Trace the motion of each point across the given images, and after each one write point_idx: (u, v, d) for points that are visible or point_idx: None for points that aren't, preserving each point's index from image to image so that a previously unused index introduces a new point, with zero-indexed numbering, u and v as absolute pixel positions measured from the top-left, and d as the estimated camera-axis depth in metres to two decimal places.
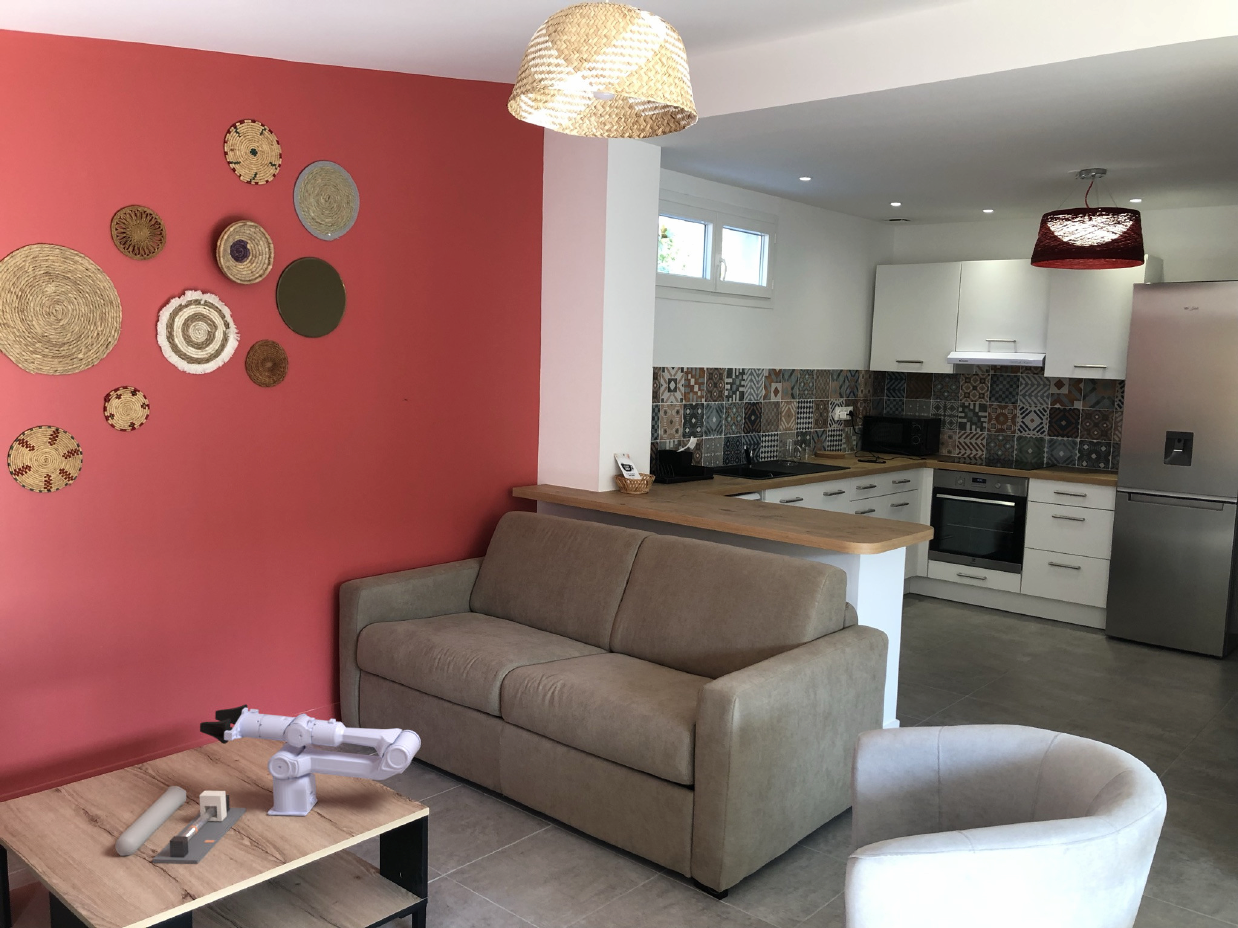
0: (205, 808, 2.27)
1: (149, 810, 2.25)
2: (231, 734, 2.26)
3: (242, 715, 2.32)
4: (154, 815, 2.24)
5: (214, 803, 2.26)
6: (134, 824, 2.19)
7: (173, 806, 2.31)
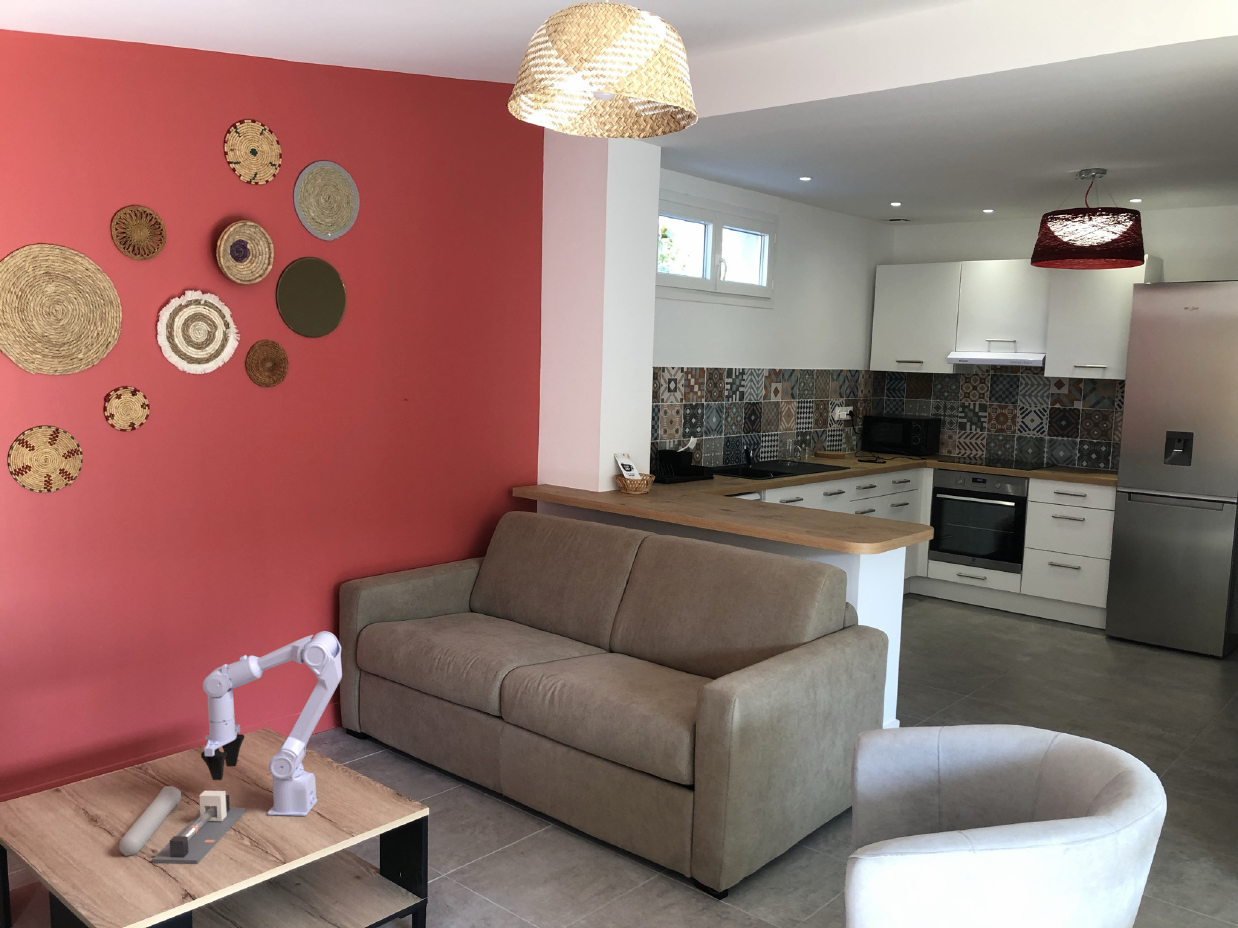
0: (205, 808, 2.27)
1: (148, 810, 2.25)
2: (206, 748, 2.25)
3: (208, 738, 2.31)
4: (154, 814, 2.24)
5: (214, 803, 2.26)
6: (136, 824, 2.19)
7: (170, 805, 2.31)
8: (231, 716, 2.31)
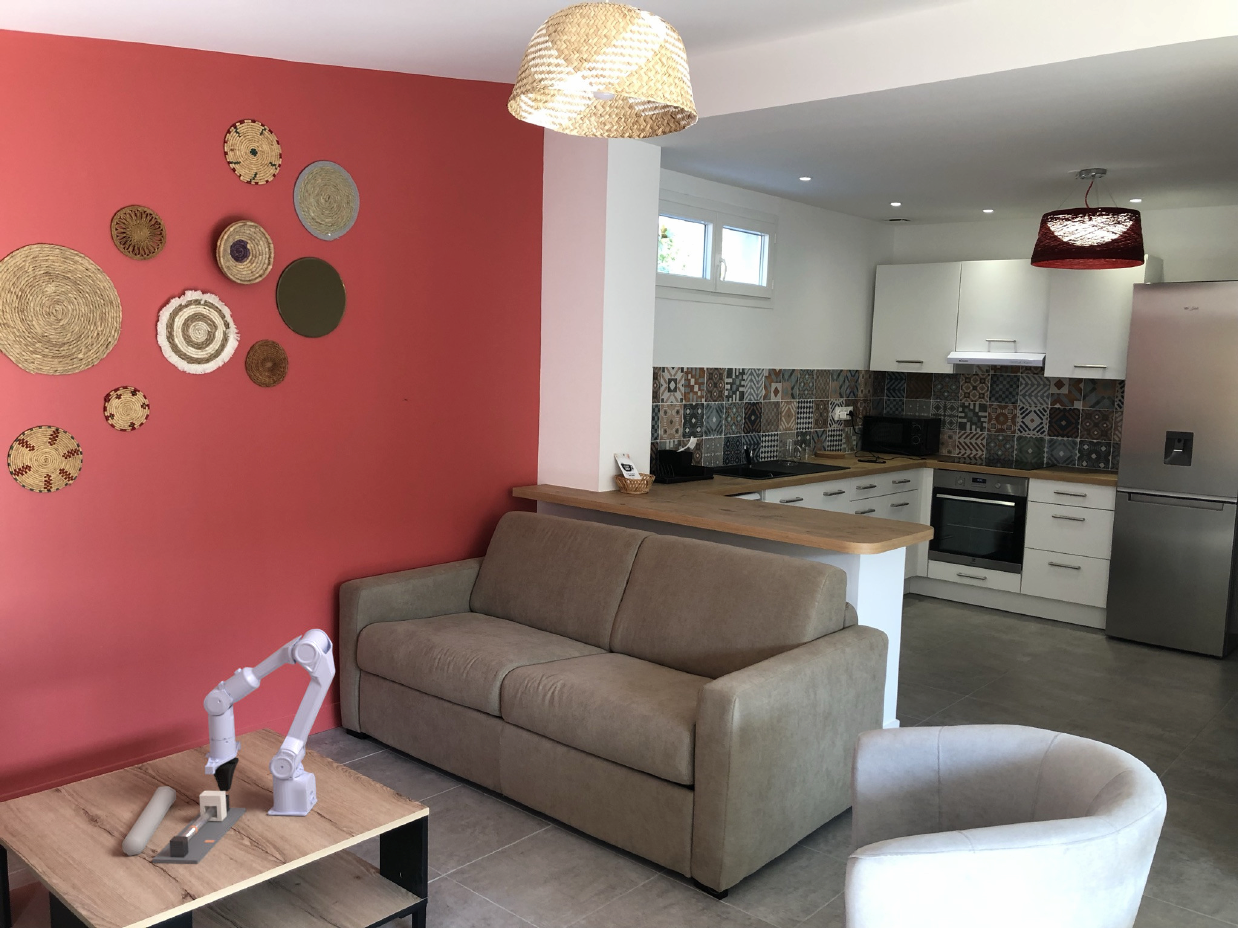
0: (205, 808, 2.27)
1: (147, 810, 2.25)
2: (206, 767, 2.26)
3: (209, 756, 2.32)
4: (153, 814, 2.24)
5: (214, 803, 2.26)
6: (137, 824, 2.19)
7: (167, 805, 2.31)
8: (232, 734, 2.31)
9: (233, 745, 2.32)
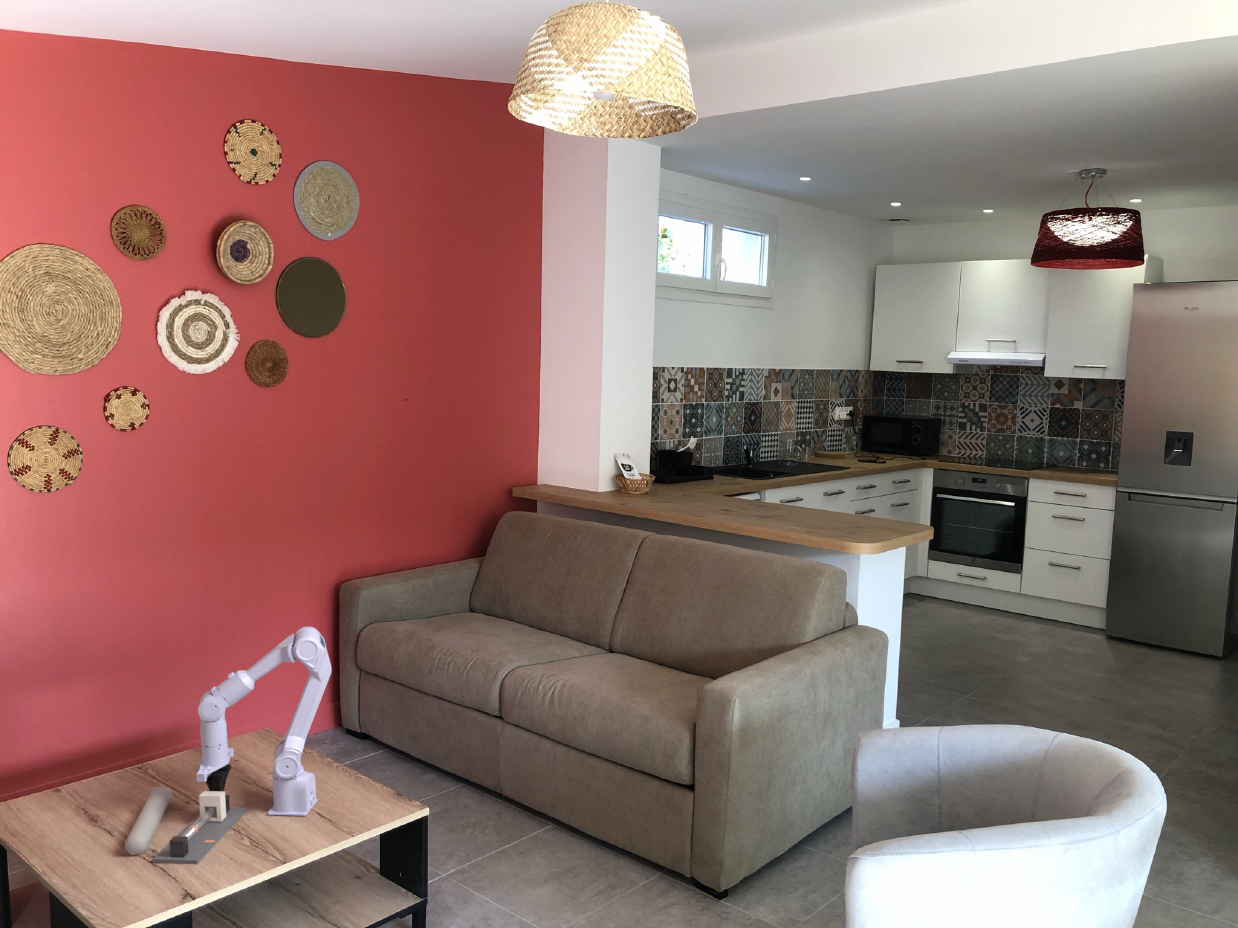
0: (205, 808, 2.27)
1: (146, 810, 2.25)
2: (198, 774, 2.22)
3: (201, 763, 2.28)
4: (153, 814, 2.24)
5: (214, 803, 2.26)
6: (138, 824, 2.19)
7: (164, 805, 2.31)
8: (226, 739, 2.28)
9: (225, 752, 2.28)
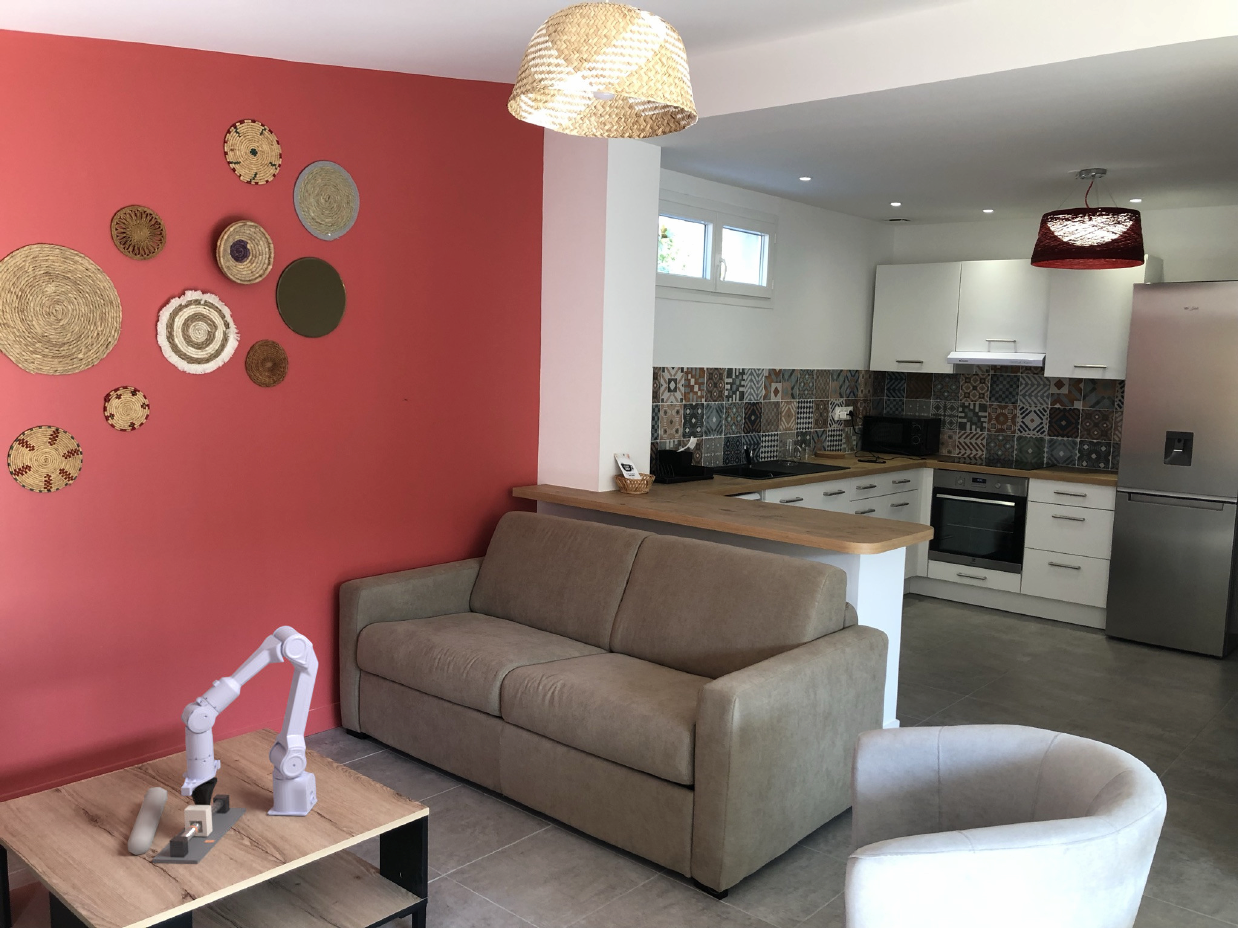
0: (190, 823, 2.20)
1: (145, 810, 2.25)
2: (183, 788, 2.15)
3: None
4: (153, 814, 2.24)
5: (199, 818, 2.19)
6: (139, 824, 2.19)
7: (162, 805, 2.31)
8: None
9: (211, 764, 2.21)
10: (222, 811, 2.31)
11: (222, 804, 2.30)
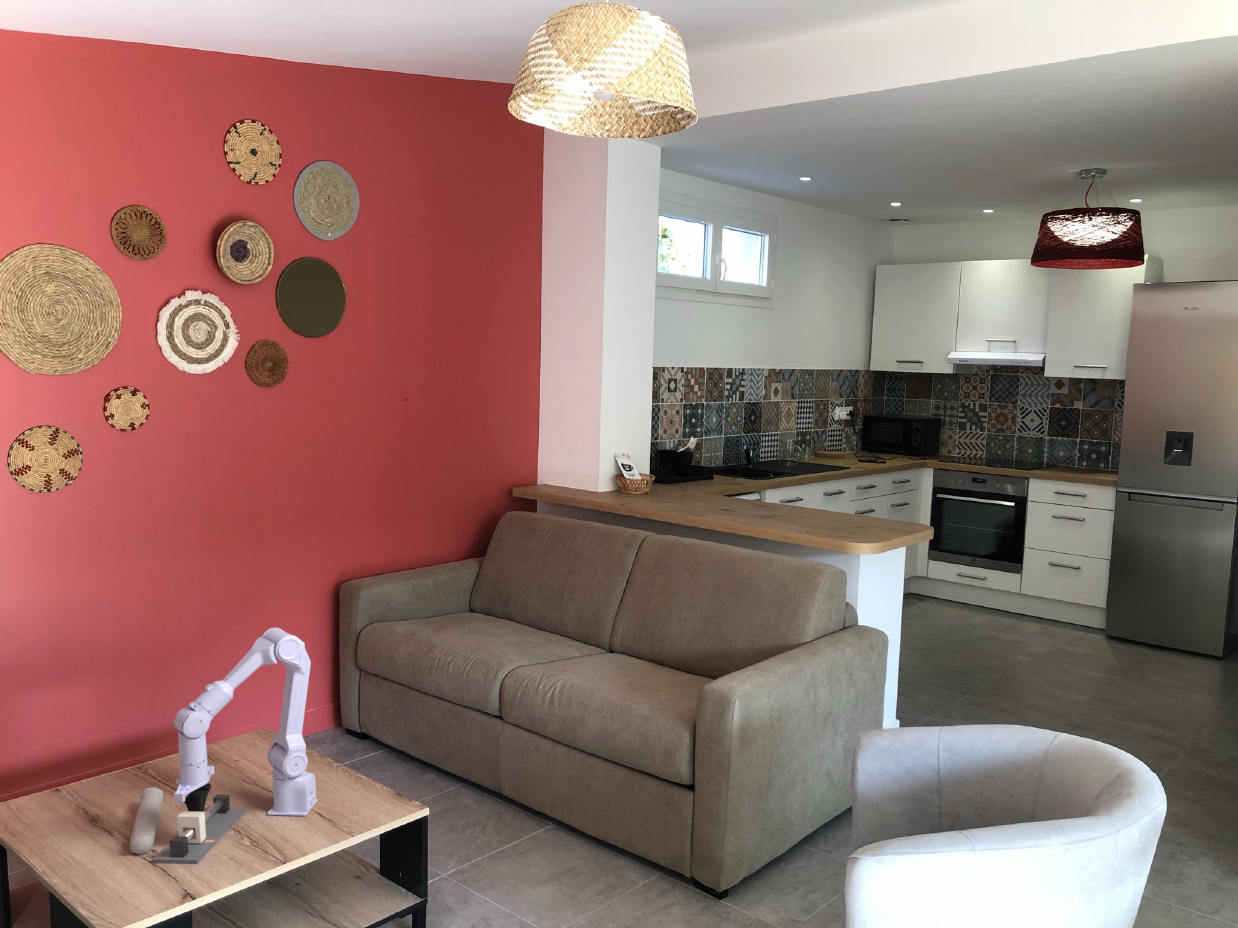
0: (183, 830, 2.17)
1: (144, 810, 2.25)
2: (176, 794, 2.12)
3: (179, 782, 2.18)
4: (152, 813, 2.24)
5: (192, 824, 2.16)
6: (140, 824, 2.19)
7: (160, 805, 2.31)
8: (206, 755, 2.19)
9: (205, 770, 2.18)
10: (222, 811, 2.31)
11: (222, 804, 2.30)
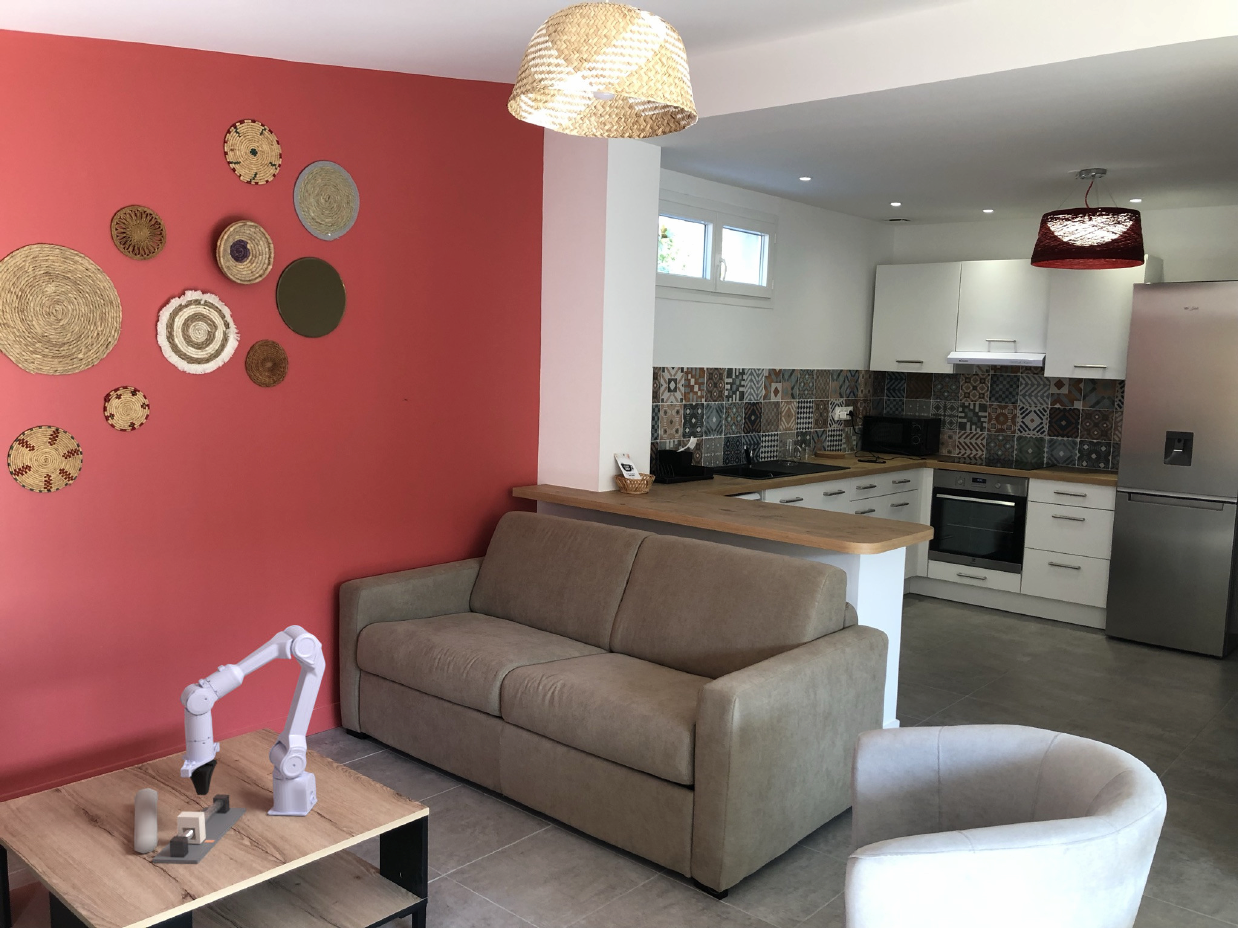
0: (183, 830, 2.17)
1: (143, 811, 2.25)
2: (182, 769, 2.14)
3: (185, 758, 2.20)
4: (152, 813, 2.24)
5: (192, 825, 2.16)
6: (142, 823, 2.19)
7: None
8: (212, 732, 2.22)
9: (211, 746, 2.21)
10: (222, 811, 2.31)
11: (222, 804, 2.30)
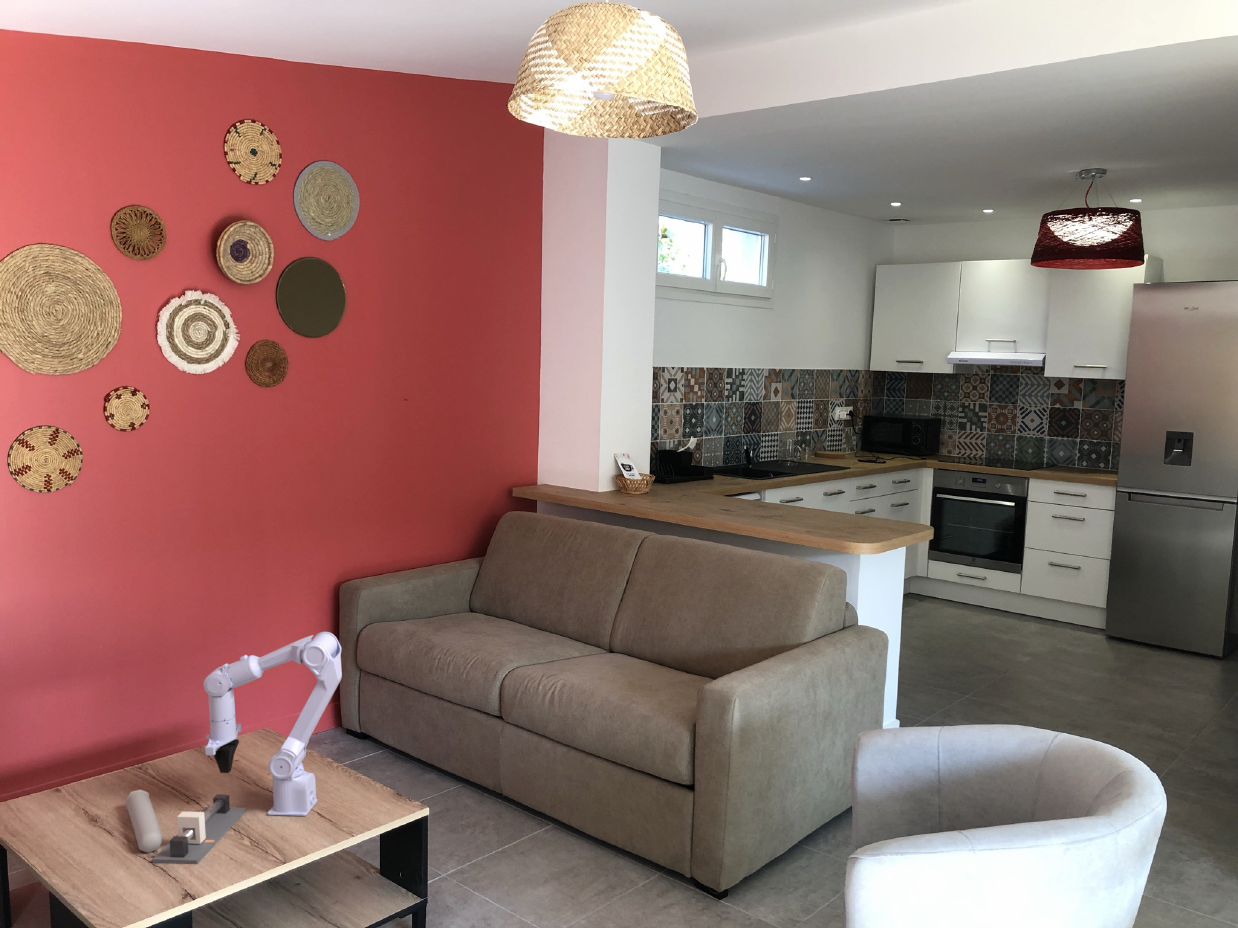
0: (183, 830, 2.17)
1: (141, 811, 2.25)
2: (207, 748, 2.26)
3: (209, 738, 2.32)
4: (150, 813, 2.25)
5: (192, 825, 2.16)
6: (144, 823, 2.19)
7: None
8: (232, 715, 2.31)
9: (233, 727, 2.32)
10: (222, 811, 2.31)
11: (222, 804, 2.30)
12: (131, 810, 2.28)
